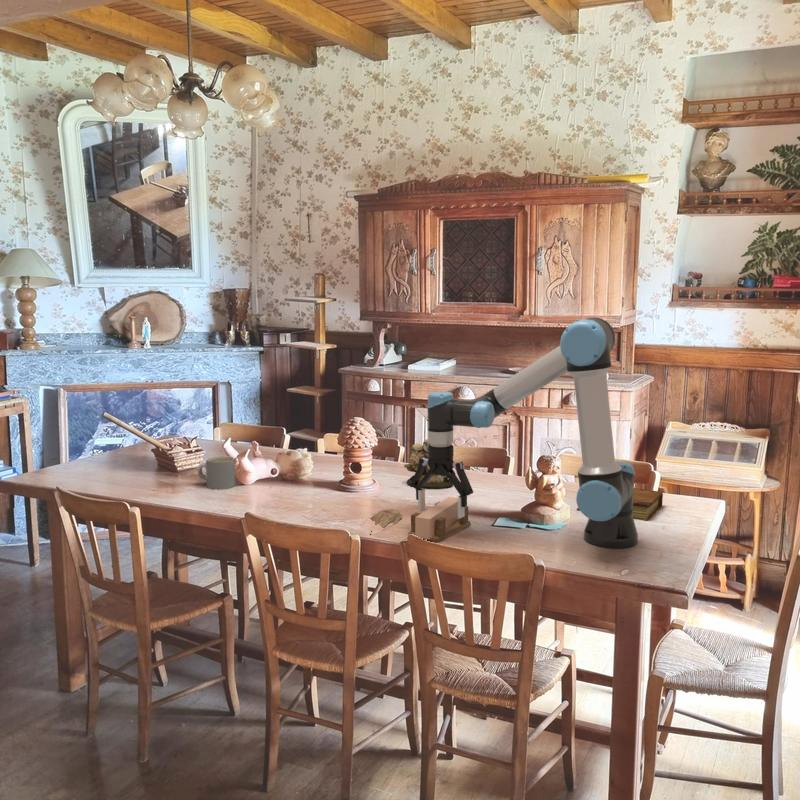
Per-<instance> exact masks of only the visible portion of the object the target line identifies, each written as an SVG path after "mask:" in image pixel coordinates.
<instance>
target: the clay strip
mask: <svg viewBox="0 0 800 800" xmlns="http://www.w3.org/2000/svg"><path fill="white" fill-rule="evenodd" d="M438 502H439V503H438ZM438 502H437V503H438V504H436V505H435V504H434V505H433V506H431V507H429V508H428V509H425V510H424V511H422V512H420V513H421V514H419V515H418V516H416V517H415V535H416V536H418V537H420V538H424V539H431V538H432V537H434V536H435V535H436V519H438V518H440V517H443V518H446V528H447V527H448V526H450V525H451V524H453V523H454V522H456V521H457V520H459V518H458V497H453V496H448V497H446V498H444V499H443V500H441V501H438Z"/></svg>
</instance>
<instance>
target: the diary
mask: <svg viewBox="0 0 800 800" xmlns="http://www.w3.org/2000/svg"><path fill="white" fill-rule="evenodd" d="M663 497H664V494H663V491H660V490H658V491H657V490H650V489H642V488H636V487H634V492H633V513H632V515H633V519H634V520H637V521H638V520H639V521H646V522H649V520H651V519H652V518H653V517H654V516H655V514H657V512H658V511H659V510H660V509H661V508H662V507H663V499H664V498H663ZM576 511H579V512H581V511H580V510H579V508H578V507H577V508H576Z"/></svg>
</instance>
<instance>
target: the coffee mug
mask: <svg viewBox="0 0 800 800" xmlns="http://www.w3.org/2000/svg"><path fill="white" fill-rule="evenodd" d="M235 464H236V463H235V457H233V456H229V455H217V456H211V457H207V458H206V460H205V462H201V463H200V464H199V465H198V467H197V475H198V477H199V478H200V479H202V480H204V481H206V487H207V488H208V489H210V490H215V489H217V490H229V489H232V488H234V487H236V466H235ZM203 468H204V469H205V470H206V471H205V472H206V473H205V474H204V473H203Z"/></svg>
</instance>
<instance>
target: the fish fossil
mask: <svg viewBox="0 0 800 800" xmlns="http://www.w3.org/2000/svg"><path fill="white" fill-rule="evenodd" d="M376 512H377V513H376ZM376 512H374V513H372V514H373V516H372V517H371V518H369V517H368V518H369V519H371V520H372V521H375V525H377V524H379V525H380V526H381V527H382V528H385V527H386V526H387V525H388V524H390V523H395V524H397V523H398V522H399V521H400V520H401V519H402V513H401V511H400V510H399V509H398V508H387V509H381V510H379V511H376ZM386 528H387V527H386ZM386 528H385V529H386Z"/></svg>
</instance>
